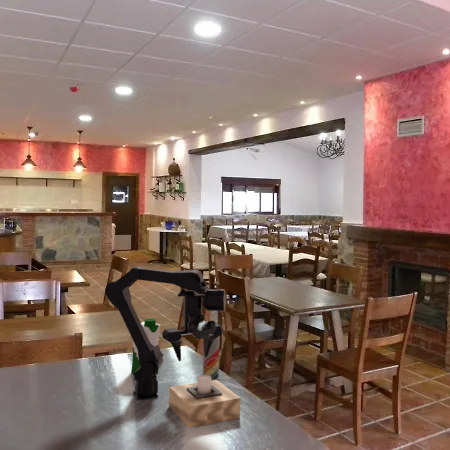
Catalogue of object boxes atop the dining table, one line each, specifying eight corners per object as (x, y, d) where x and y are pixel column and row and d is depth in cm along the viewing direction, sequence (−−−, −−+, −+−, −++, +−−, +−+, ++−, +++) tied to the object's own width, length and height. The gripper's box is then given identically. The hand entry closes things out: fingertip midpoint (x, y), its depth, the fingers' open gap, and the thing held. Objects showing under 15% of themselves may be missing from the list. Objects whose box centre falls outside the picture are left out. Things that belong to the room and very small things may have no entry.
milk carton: (144, 379, 171) (146, 323, 171) (127, 373, 177) (128, 319, 176) (162, 372, 178) (163, 318, 178) (144, 367, 184) (145, 315, 183)
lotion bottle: (216, 381, 171) (218, 325, 170) (200, 380, 172) (202, 324, 171) (220, 376, 176) (221, 321, 175) (204, 375, 177) (206, 320, 177)
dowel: (200, 399, 143) (201, 380, 142) (195, 394, 146) (195, 375, 146) (212, 397, 144) (213, 378, 144) (207, 392, 148) (207, 374, 148)
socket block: (189, 428, 135) (189, 404, 134) (169, 406, 149) (169, 385, 149) (239, 418, 142) (240, 395, 142) (216, 398, 156) (216, 378, 156)
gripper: (176, 318, 143) (175, 371, 143) (231, 312, 152) (230, 361, 152) (161, 311, 152) (161, 360, 153) (214, 305, 161) (214, 352, 162)
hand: (192, 358), depth 155 cm, fingers open, 9 cm apart
